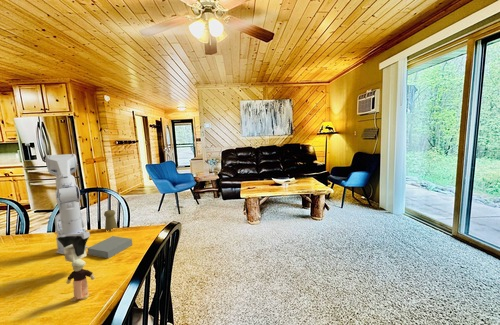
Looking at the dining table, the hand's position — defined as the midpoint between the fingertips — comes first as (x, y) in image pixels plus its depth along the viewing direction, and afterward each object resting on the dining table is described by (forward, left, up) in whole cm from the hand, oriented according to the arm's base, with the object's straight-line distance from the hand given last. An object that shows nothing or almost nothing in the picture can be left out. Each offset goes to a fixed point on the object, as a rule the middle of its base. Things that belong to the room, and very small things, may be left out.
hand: (75, 254), depth 80 cm
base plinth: (-3, +16, -7) cm, 18 cm away
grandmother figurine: (+16, -9, -7) cm, 20 cm away
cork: (-24, +33, -7) cm, 41 cm away
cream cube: (0, 0, -2) cm, 2 cm away
